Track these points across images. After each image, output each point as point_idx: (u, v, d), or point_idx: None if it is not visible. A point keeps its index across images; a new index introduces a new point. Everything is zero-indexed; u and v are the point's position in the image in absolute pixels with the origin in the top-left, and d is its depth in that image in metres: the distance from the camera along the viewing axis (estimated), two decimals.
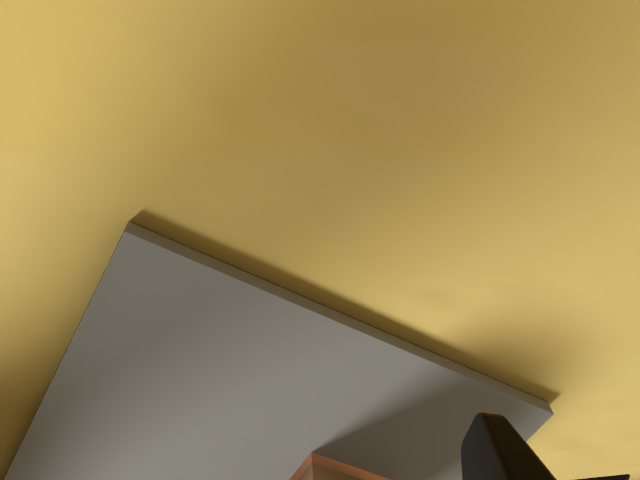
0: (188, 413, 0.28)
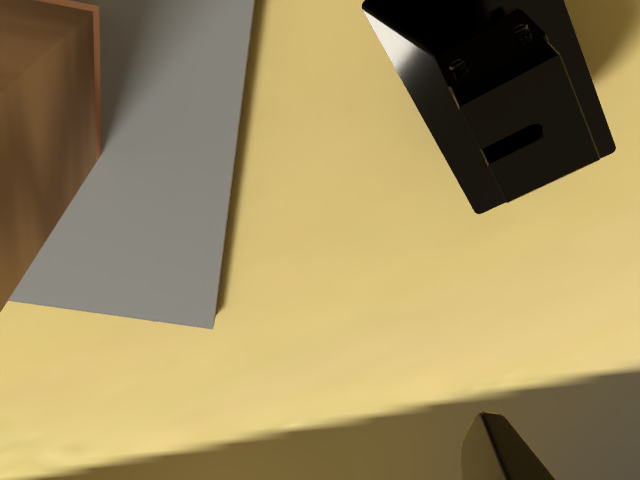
0: None
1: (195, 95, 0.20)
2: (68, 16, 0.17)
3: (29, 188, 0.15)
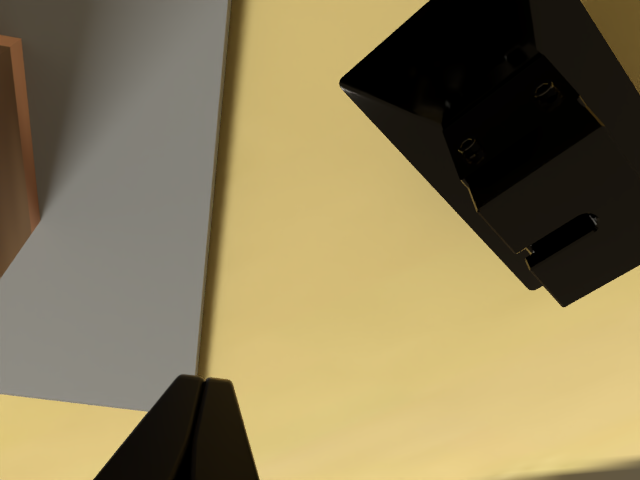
0: None
1: (154, 149, 0.15)
2: None
3: None
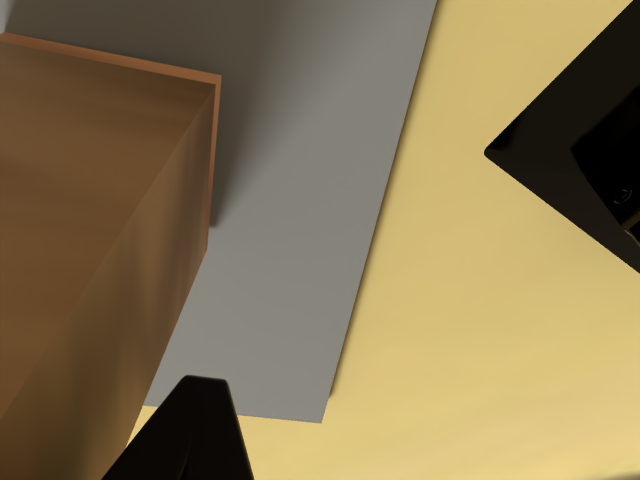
0: None
1: (332, 169, 0.16)
2: (187, 94, 0.13)
3: (135, 344, 0.11)
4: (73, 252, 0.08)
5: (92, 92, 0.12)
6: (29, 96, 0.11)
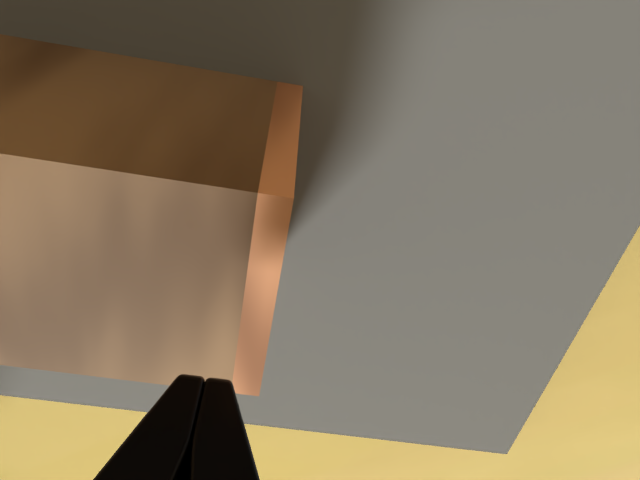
0: None
1: (586, 216, 0.16)
2: (211, 172, 0.10)
3: None
4: None
5: (182, 122, 0.12)
6: (157, 97, 0.12)
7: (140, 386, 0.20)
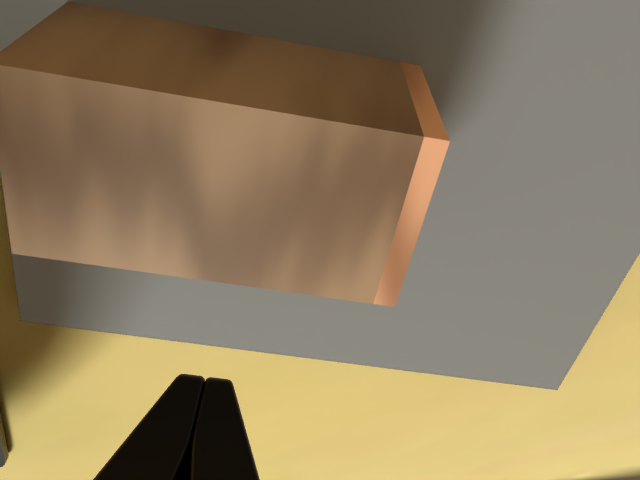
0: None
1: (638, 175, 0.20)
2: (386, 122, 0.14)
3: (178, 207, 0.15)
4: (129, 79, 0.13)
5: (348, 89, 0.15)
6: (321, 71, 0.16)
7: (250, 327, 0.24)
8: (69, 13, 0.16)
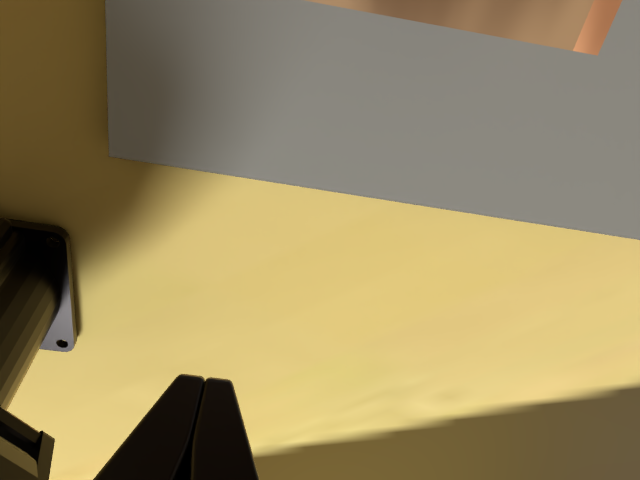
0: None
1: None
2: None
3: None
4: None
5: None
6: None
7: (366, 164, 0.21)
8: None
